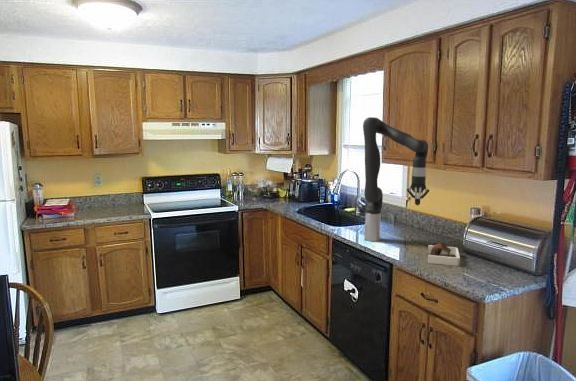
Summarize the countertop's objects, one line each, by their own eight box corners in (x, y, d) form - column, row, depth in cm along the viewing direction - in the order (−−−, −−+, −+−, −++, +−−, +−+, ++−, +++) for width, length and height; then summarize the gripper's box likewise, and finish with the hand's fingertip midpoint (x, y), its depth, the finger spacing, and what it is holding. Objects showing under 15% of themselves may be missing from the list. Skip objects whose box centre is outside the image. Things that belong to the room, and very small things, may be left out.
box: (427, 262, 206) (428, 255, 205) (428, 252, 224) (428, 245, 224) (459, 266, 201) (459, 258, 200) (457, 254, 219) (457, 247, 219)
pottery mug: (430, 253, 224) (439, 241, 222) (445, 263, 219) (454, 251, 217) (425, 253, 214) (434, 240, 212) (440, 264, 209) (450, 251, 207)
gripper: (431, 175, 229) (429, 204, 232) (407, 174, 233) (405, 203, 236) (431, 176, 222) (429, 207, 225) (406, 175, 226) (405, 205, 229)
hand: (417, 205), depth 230 cm, fingers closed
